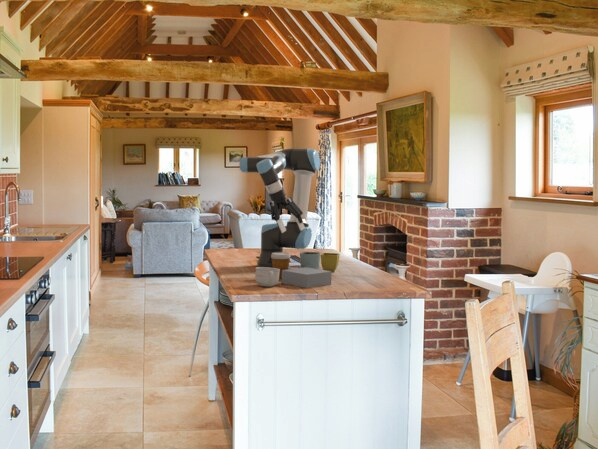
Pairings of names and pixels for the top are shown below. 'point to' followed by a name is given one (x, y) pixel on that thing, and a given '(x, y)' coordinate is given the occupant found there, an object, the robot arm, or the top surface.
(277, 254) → the disposable coffee cup
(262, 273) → the teacup
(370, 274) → the top surface
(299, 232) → the robot arm
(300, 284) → the riser block
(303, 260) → the grey-green cup
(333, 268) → the flower pot
